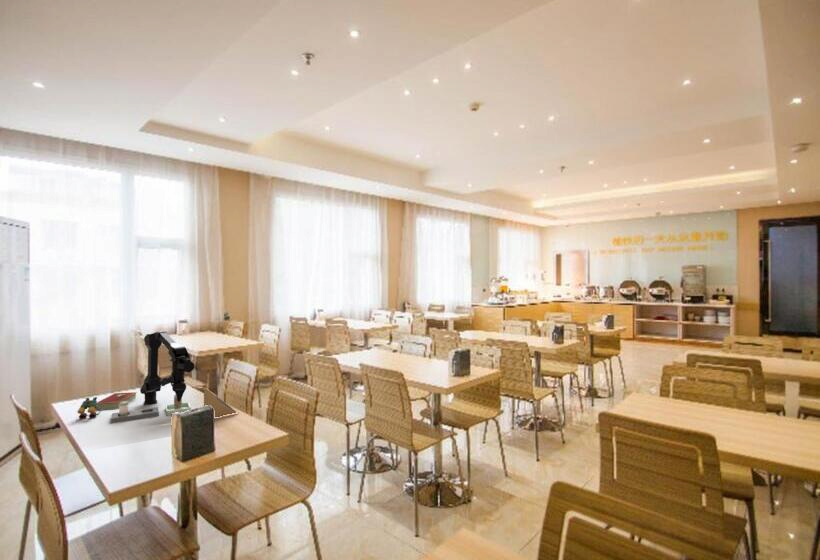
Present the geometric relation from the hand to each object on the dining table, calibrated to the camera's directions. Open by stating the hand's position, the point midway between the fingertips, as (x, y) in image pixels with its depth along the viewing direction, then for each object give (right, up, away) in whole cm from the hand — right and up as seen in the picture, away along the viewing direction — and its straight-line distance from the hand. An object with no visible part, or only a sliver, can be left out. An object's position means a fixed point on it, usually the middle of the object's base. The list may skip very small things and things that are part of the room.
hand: (178, 399), depth 226 cm
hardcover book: (-42, -7, +13) cm, 45 cm away
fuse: (-20, -6, -13) cm, 25 cm away
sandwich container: (+26, -7, -6) cm, 28 cm away
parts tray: (0, -6, 0) cm, 6 cm away
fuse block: (-16, -6, -10) cm, 20 cm away
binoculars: (-39, -6, -12) cm, 41 cm away
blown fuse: (0, -6, 0) cm, 6 cm away
